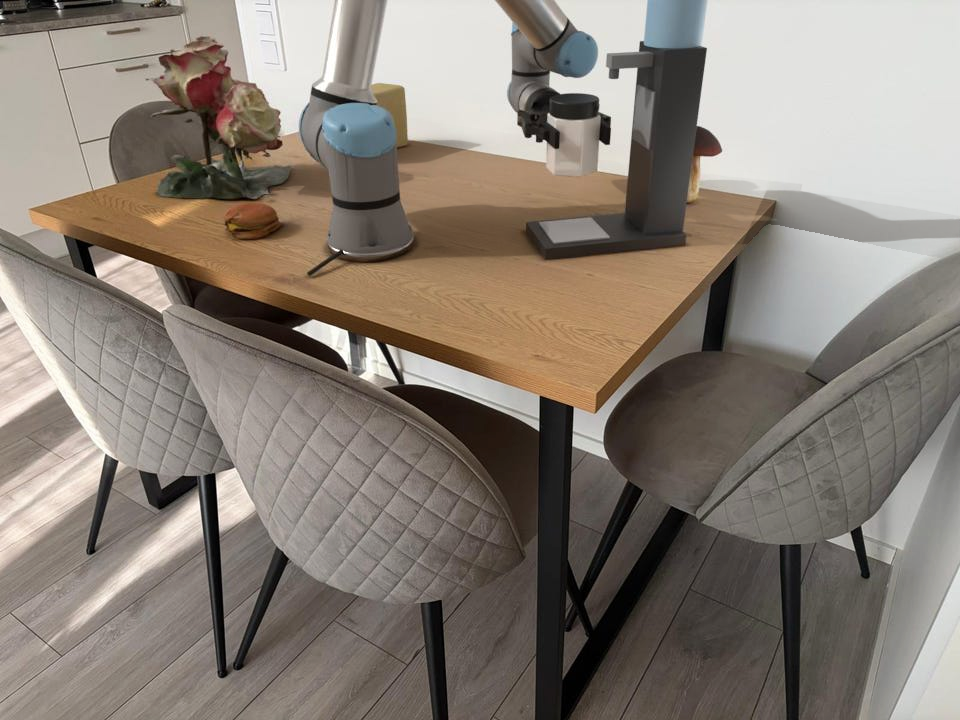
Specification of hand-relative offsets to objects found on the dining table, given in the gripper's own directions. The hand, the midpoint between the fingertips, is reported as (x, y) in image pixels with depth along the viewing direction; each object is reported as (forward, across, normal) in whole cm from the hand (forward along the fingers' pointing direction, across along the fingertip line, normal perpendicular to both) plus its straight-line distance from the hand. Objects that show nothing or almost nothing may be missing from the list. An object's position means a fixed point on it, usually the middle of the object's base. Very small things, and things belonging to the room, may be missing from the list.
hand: (582, 138), depth 119 cm
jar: (-5, 0, -7) cm, 8 cm away
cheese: (-70, +32, -19) cm, 79 cm away
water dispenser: (-2, -6, -19) cm, 20 cm away
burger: (-22, +57, -19) cm, 64 cm away
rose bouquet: (-55, +62, -19) cm, 85 cm away
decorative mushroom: (-16, -28, -19) cm, 38 cm away
